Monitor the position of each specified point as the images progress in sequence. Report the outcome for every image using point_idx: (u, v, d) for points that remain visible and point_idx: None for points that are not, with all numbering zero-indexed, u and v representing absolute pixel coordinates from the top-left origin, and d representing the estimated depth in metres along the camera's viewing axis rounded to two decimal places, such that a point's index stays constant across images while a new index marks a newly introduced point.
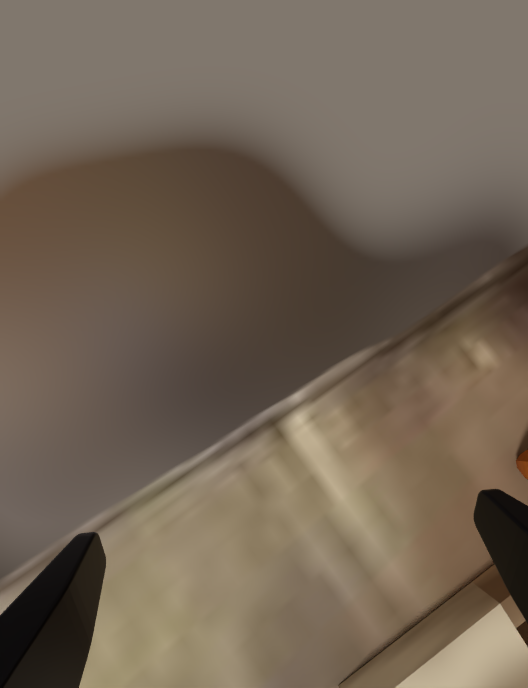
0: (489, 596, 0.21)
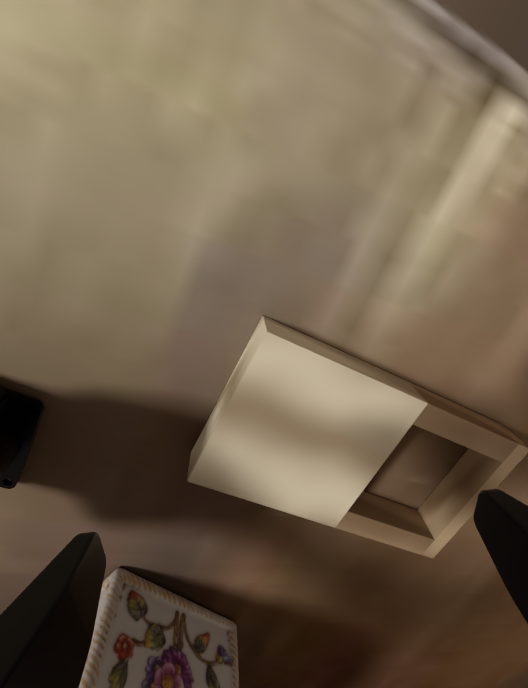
0: (420, 395, 0.21)
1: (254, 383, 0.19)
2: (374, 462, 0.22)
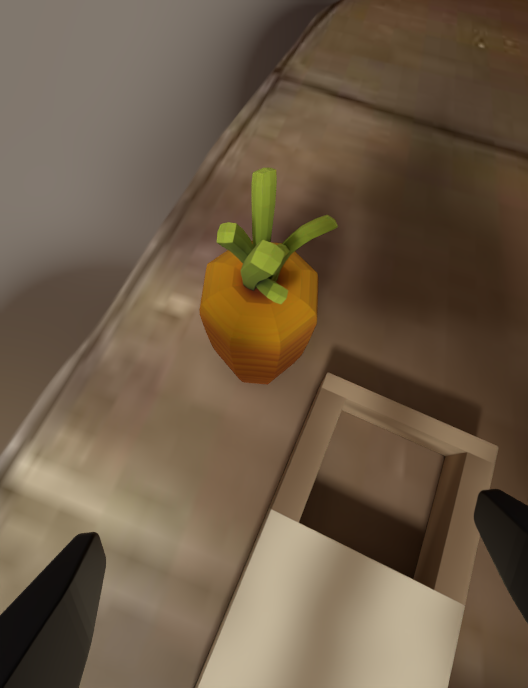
0: (270, 509, 0.20)
1: None
2: (353, 563, 0.18)
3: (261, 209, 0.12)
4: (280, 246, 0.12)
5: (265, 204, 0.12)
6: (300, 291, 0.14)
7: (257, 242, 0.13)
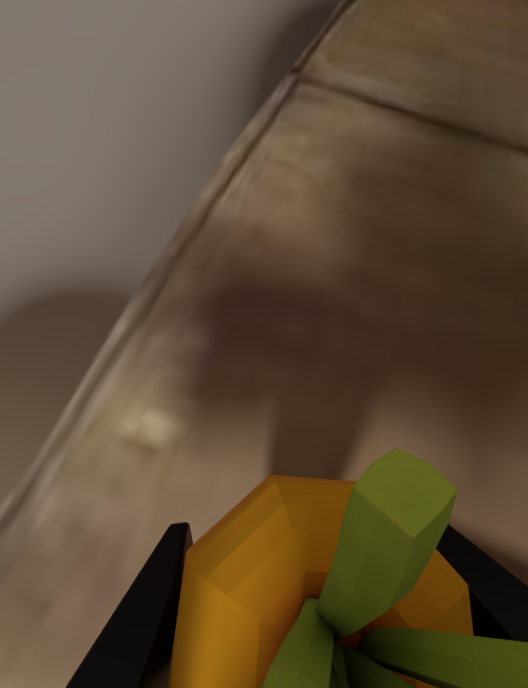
0: None
1: None
2: None
3: (382, 613, 0.03)
4: None
5: (401, 597, 0.03)
6: None
7: (340, 623, 0.04)
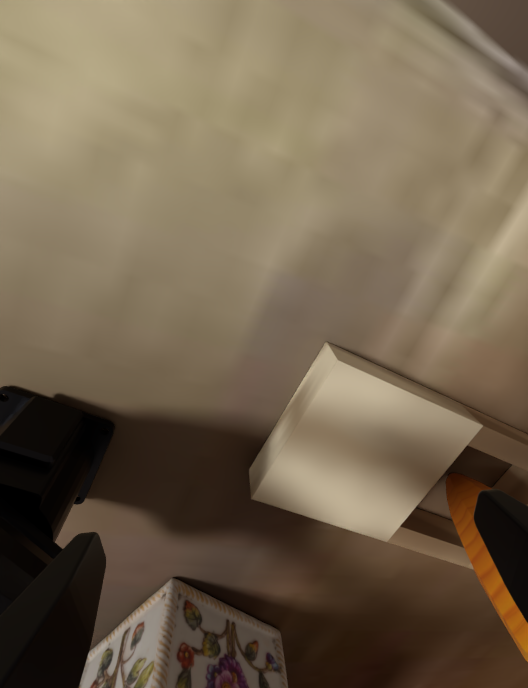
0: (474, 417, 0.22)
1: (321, 407, 0.20)
2: (428, 480, 0.23)
3: None
4: None
5: None
6: None
7: None
